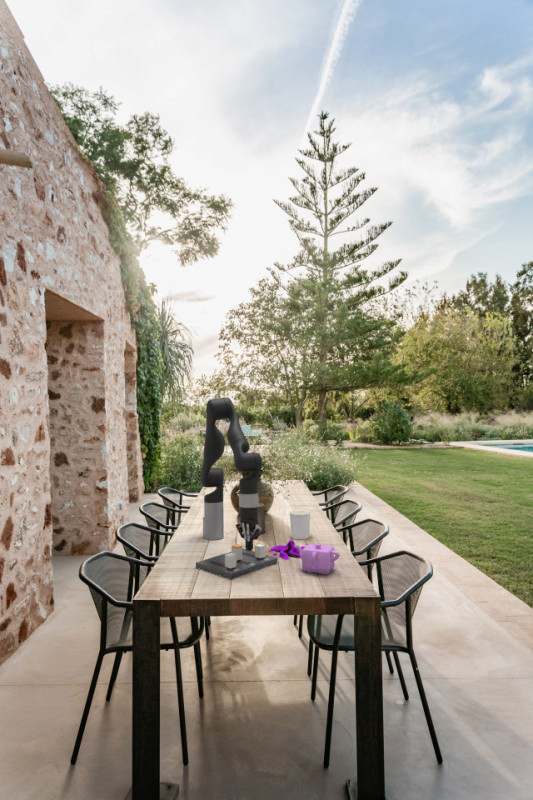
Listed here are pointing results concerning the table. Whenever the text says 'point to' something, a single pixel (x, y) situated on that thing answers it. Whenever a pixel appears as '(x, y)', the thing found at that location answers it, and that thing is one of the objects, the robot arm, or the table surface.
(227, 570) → the panel
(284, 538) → the table surface
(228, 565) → the breaker
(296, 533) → the candle holder
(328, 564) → the teapot
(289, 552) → the cloth
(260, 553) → the block
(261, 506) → the pillar candle
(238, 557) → the block
